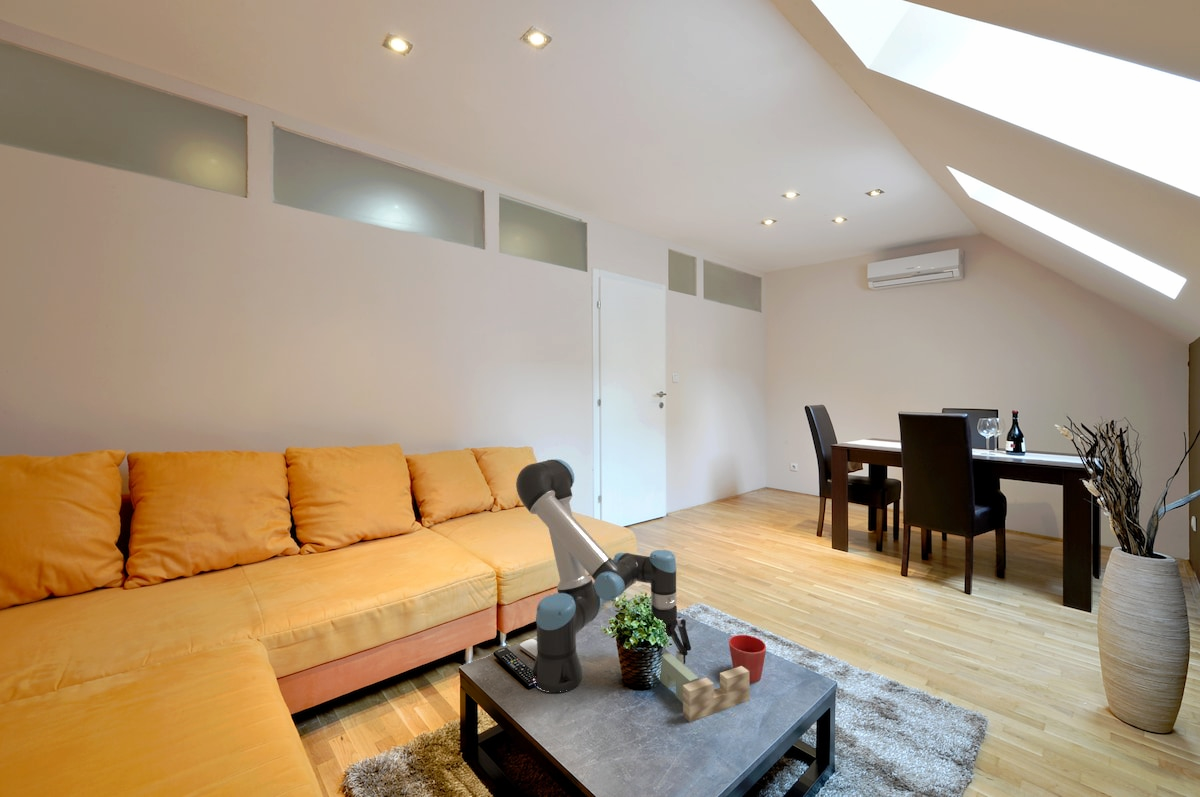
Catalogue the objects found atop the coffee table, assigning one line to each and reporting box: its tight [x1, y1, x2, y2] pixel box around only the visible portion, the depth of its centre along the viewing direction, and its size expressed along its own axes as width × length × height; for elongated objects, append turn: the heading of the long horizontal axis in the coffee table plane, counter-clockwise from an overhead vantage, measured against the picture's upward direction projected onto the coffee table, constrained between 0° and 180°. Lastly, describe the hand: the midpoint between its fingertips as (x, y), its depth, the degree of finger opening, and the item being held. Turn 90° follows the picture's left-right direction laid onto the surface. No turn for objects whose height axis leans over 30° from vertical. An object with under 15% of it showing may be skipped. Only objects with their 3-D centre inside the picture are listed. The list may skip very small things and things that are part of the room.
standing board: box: [682, 666, 751, 723], centre depth 130 cm, size 20×3×8 cm, turn 115°
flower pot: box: [728, 634, 767, 683], centre depth 145 cm, size 11×11×10 cm
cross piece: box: [659, 648, 700, 704], centre depth 138 cm, size 18×3×8 cm, turn 25°
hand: (665, 679), depth 143 cm, fingers open, 10 cm apart
